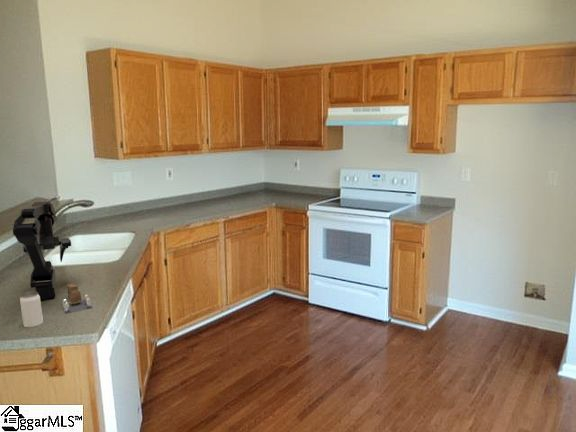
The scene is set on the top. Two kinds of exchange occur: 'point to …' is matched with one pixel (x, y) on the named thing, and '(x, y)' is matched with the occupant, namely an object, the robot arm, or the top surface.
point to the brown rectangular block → (73, 293)
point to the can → (31, 309)
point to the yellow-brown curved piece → (74, 303)
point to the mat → (77, 307)
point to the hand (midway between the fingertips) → (49, 263)
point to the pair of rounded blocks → (86, 299)
